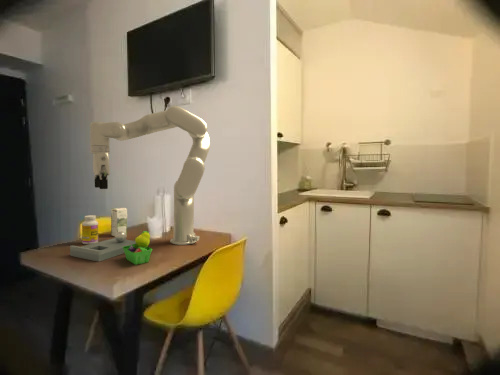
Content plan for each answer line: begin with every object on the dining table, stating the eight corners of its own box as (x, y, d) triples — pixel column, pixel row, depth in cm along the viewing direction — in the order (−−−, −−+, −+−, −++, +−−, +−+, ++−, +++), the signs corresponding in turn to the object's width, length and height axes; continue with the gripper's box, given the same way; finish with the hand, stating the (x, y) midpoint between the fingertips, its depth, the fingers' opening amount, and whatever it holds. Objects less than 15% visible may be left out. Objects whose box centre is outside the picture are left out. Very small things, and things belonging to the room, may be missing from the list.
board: (141, 247, 129) (141, 238, 129) (99, 261, 109) (98, 251, 108) (114, 243, 135) (114, 234, 135) (70, 255, 115) (70, 246, 114)
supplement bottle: (91, 245, 130) (90, 217, 129) (78, 244, 131) (78, 216, 131) (101, 241, 137) (101, 215, 136) (89, 240, 138) (89, 214, 137)
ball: (128, 241, 129) (128, 230, 129) (120, 243, 125) (120, 233, 125) (120, 240, 131) (120, 229, 131) (112, 242, 127) (112, 231, 126)
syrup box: (121, 233, 154) (121, 207, 153) (127, 235, 150) (127, 208, 149) (111, 235, 149) (110, 208, 148) (117, 237, 146) (116, 209, 145)
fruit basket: (121, 259, 112) (121, 231, 112) (143, 254, 119) (143, 228, 118) (133, 266, 104) (133, 236, 104) (156, 261, 111) (156, 233, 110)
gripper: (114, 149, 123) (115, 189, 124) (104, 151, 136) (105, 186, 137) (95, 148, 118) (96, 189, 119) (87, 150, 131) (87, 187, 133)
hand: (101, 188), depth 128 cm, fingers open, 9 cm apart
